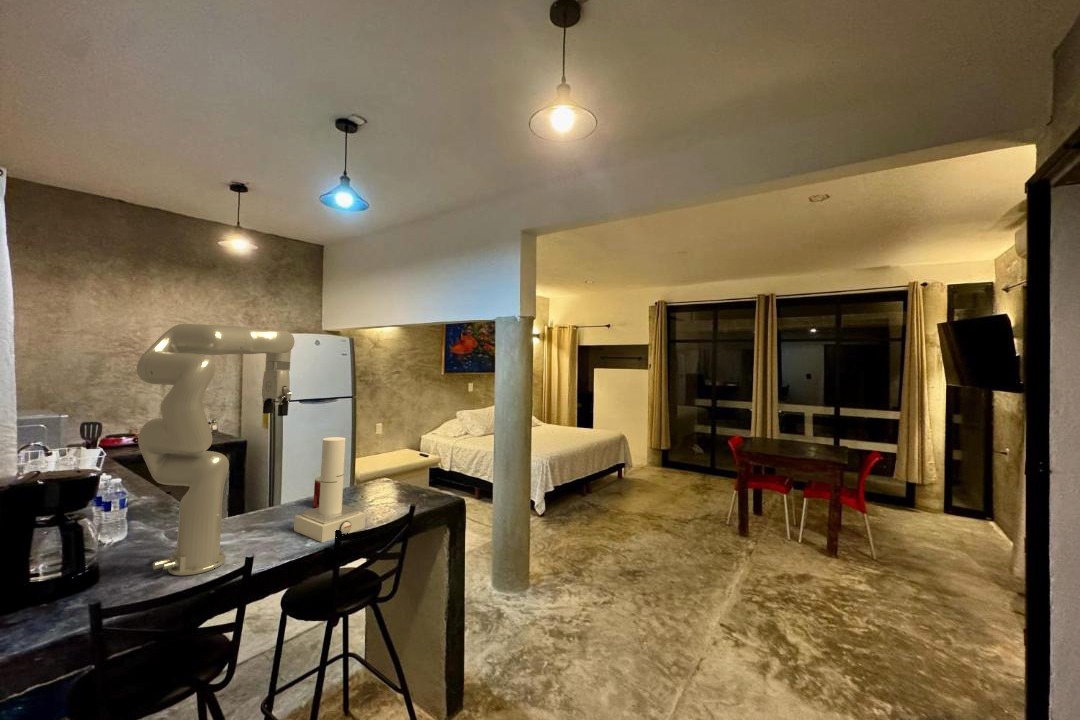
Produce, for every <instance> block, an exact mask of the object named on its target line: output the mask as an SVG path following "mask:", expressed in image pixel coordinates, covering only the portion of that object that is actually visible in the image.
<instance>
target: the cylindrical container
mask: <svg viewBox="0 0 1080 720" xmlns="http://www.w3.org/2000/svg"><path fill="white" fill-rule="evenodd" d="M346 439H347V438H346V437H342V436H341V437H340V436H331V437H324V438H323V439H322V449H321V465H320V469H321V470H320V477H321V483H320V501H319V513H320V514H325V515H329V514H336V513H339V512H341V511H342V504H343V491H344V477H345V476H344V475H345V473H344V471H345V455H346V454H345V453H346Z"/></svg>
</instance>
